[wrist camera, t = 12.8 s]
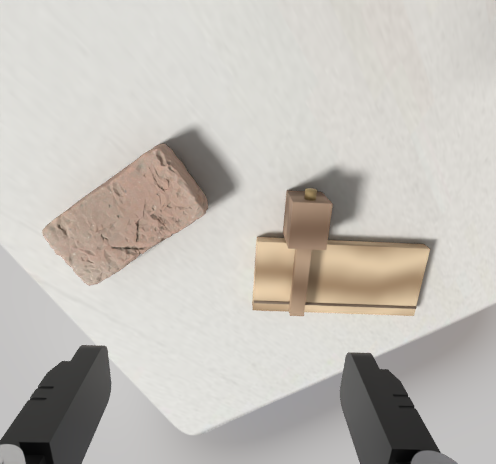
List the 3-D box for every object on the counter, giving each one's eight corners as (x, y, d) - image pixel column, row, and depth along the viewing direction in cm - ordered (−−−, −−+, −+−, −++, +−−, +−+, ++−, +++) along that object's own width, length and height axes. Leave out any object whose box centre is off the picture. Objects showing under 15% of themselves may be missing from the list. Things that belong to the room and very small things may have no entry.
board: (256, 236, 42) (257, 241, 41) (423, 244, 43) (430, 249, 42) (252, 303, 45) (252, 310, 44) (408, 309, 46) (414, 316, 45)
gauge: (287, 181, 40) (293, 192, 35) (323, 183, 40) (334, 194, 36) (276, 299, 45) (281, 322, 41) (308, 300, 45) (316, 323, 41)
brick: (102, 274, 44) (86, 294, 39) (52, 220, 41) (30, 234, 37) (212, 200, 41) (209, 212, 37) (167, 137, 39) (158, 142, 34)
